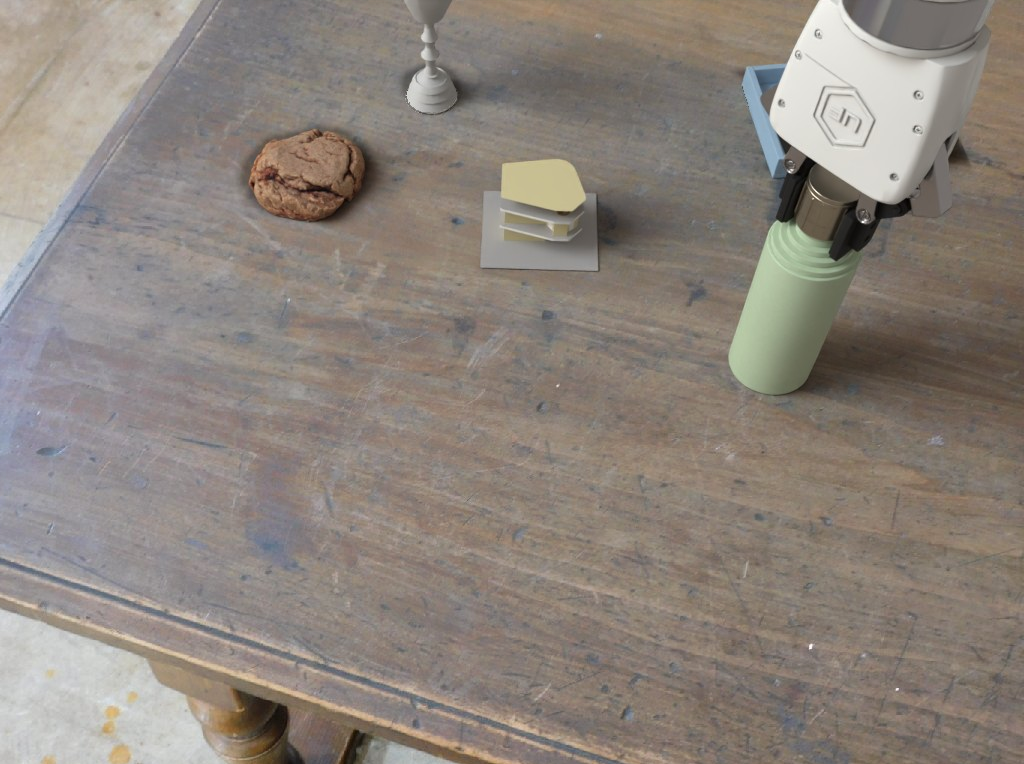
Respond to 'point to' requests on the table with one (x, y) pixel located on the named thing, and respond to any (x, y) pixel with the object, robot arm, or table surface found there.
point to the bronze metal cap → (824, 203)
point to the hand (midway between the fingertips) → (820, 227)
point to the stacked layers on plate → (539, 219)
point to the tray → (754, 86)
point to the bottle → (789, 309)
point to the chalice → (430, 61)
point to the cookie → (307, 175)
